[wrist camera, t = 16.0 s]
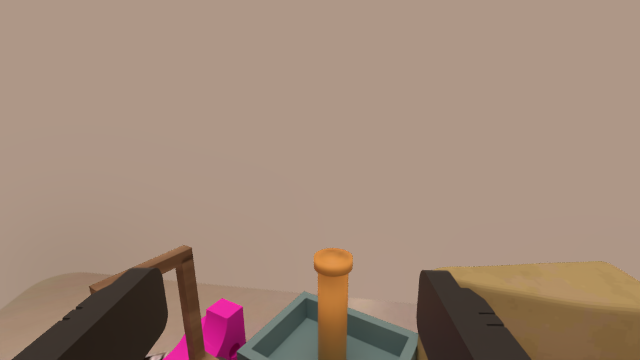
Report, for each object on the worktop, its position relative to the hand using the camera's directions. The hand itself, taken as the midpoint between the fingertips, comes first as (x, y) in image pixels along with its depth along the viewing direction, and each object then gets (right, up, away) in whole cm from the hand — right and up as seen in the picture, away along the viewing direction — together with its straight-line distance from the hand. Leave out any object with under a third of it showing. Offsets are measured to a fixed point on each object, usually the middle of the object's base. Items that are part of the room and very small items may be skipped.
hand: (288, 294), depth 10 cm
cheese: (+24, -21, +27) cm, 42 cm away
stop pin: (+2, -20, +29) cm, 35 cm away
